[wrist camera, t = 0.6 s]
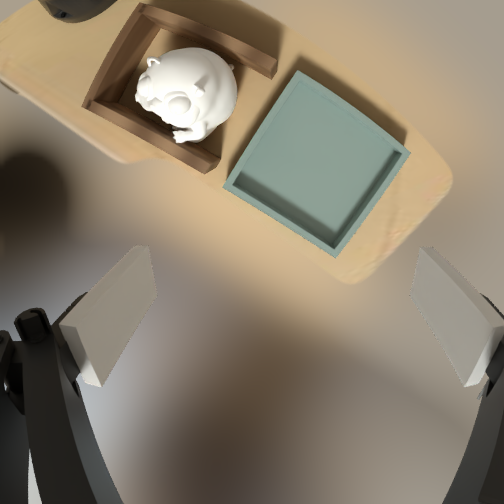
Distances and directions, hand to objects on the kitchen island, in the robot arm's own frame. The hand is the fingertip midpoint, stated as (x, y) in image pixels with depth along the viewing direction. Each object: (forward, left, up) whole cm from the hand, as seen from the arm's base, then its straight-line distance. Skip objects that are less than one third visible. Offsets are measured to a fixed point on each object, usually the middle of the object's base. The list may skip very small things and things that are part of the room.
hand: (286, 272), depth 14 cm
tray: (-1, +5, -23) cm, 24 cm away
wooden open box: (-16, -6, -23) cm, 29 cm away
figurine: (-14, -4, -23) cm, 27 cm away
